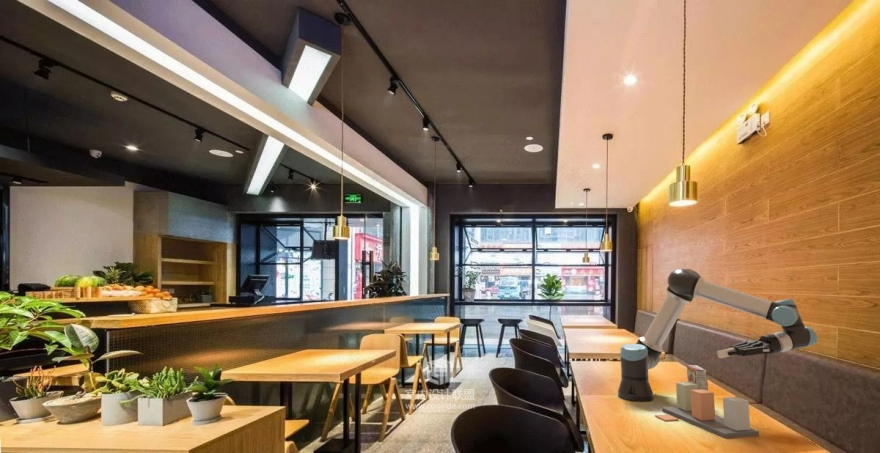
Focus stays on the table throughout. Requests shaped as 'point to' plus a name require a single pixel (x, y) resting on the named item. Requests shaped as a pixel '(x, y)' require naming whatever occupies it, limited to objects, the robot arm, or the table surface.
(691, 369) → the candy bar box
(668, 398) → the table surface
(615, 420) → the table surface
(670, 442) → the table surface
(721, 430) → the charcoal key base
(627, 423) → the table surface
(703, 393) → the terracotta key
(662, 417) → the terracotta tile
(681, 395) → the sage green block
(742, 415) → the light grey block
